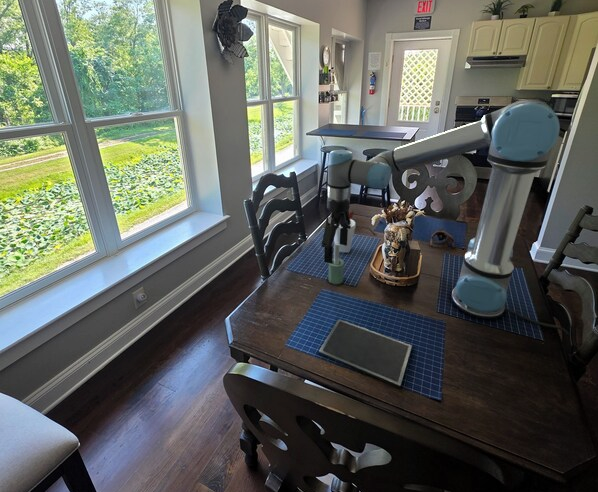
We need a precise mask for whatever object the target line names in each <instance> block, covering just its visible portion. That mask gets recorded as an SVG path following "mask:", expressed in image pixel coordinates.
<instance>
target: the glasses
mask: <svg viewBox="0 0 598 492" xmlns="http://www.w3.org/2000/svg"><path fill="white" fill-rule="evenodd" d="M354 215H355V216H360V217H366V218H371V219H373V218H372V217H373V216H369V215H364V214H359V213H354V211H349V216H350V219H352V220H353V217H354ZM378 220H379V221H378V222H379V223H380V224H383V222H382V221H381V220H380V219H378ZM356 227H357V228H360V229H361V228H362V229H366V230H369V231H370V232H371V233H372V234H373V235H374V236H375V235H376V233H375V232H374V231H373V230H371V229H370V228H369V227H365V226H361V225H355V228H356Z"/></svg>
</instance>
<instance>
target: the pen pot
mask: <svg viewBox="0 0 598 492" xmlns="http://www.w3.org/2000/svg"><path fill="white" fill-rule="evenodd" d="M344 270H345V261H344V260H343V259H342V258H339V265H334V257H333V260H332V264H330V263H328V273H327V279H328V282H329V283H331V284H333V285H340V284H342V283H343V282H344V274H345V271H344Z"/></svg>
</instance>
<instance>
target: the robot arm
mask: <svg viewBox="0 0 598 492" xmlns="http://www.w3.org/2000/svg"><path fill="white" fill-rule="evenodd" d="M560 131H561V125H560V119H559V117H558V114H556V112H555V111H554V110H553V108H552V107H551V106H550V105H549V104H548V103H547V102H545V101H543V100H541V99H537V98H523V99H520V100H516V101H515V102H512V103H510V104H508V105H506V106H504V107H502V108H500V109H497V110H495V111H492V112H490V113H487V114H484V115H483V117H482V118H481V120H477V121H475V122H471V123H468V124H466V125H462V126H460V127H457V128H453V129H450V130H447V131H445V132H441V133H438V134H436V135H433V136H430V137H426V138H424V139H419V140H417V141H415V142H411V143H408V144H405V145H402V146H399V147H395V148H394V149H391V150H384V151H381V152H380V153H378V154H377V155H375V156H374V157H371V158H370V159H369V160H360V159H356V158H354V156H353V152H352V151H351V150H347V149H335V150H332V151H330V152H329V153H328V161H327V185H326V189H327V198H326V208H327V210H328V211H330V216H327V217H326V218H325V225H324V226H325V227H324V232H323V236H322V241H321V244H320V245H321V248H324V255H323V262H324V263H327V264H329V263H330V264H332V260H333V258H334V245H333V244H334V237H335V233H336V230H337V228H339V225H341V227H343V228H340V244H341V245H345V246H347V238H348V229H350V228H351V226H349V225H350V224H351V222H350V216H349V214H350V211H349V209H350V206H351V193H352V192H351V190H352V184H353V185H357V186H363V187H368V188H371V189H378V190H379V189H381V190H383V189H386V188H387V187H388V185H389V184H390V180H391V178H392V175H393V174H397V173H401V172H404V171H407V170H411V169H414V168H418V167H420V166H424V165H428V164H431V163H435V162H439V161H444V160H446V159H449V158H454V157H457V156H460V155H461V156H462V155H464V154H468V153H472V152H476V151H478V150H483V149H486V148H489V149H488V154H487V159H486V160H487V162H488V163H489V164H490V165H491V167H492V168H491V172H490V176H489V180H488V184H487V187H486V192H485V197H484V200H483V205H482V209H481V212H480V217H479V221H478V225H477V230H476V233H475V237H473V238H471V239H470V240H469V242H468V245H467V252H465V254H464V256H463V260H462V264H461V269H460V273H459V277H458V280H457V281H456V284H455V286H454V288H453V289H452V292H451V297H450V298H451V301H452V303H453V305H454V306H455V307H456V308H457V309H458V310H459V311H461V312H462V313H464V314H466V315H468V316H469V317H472V318H476V319H480V320H487V321H488V320H496V319H499V318H501V317H502V316H503V314H504V312H505V311H506V312H508V313H510V314H511V315H514V316H516V317H518V318H521V319H523V320H525V321H528V322H529V323H532V324H534V325H539V326H542V327H546V328H552V329H556V330H559V331H562V332H563V333H564V334H565V335H567V336H568V335H569V336H570V333H569V332H568V331H567V329H565V328H564V327H562V326H559V325H554V324H548V323H544V322H541V321H537V320H534V319H531V318H528V317H526V316H524V315H522V314H520V313H518V312H516V311H514V310H511V309H510V308H507V307H506V306H505V305H506V302H507V300H508V290H509V289H508V288H509V285H510V283H511V278H512V276H513V273H514V268H515V266H514V263H513V262H512V258H513V257H514V256H513V253H514V249H513V248H514V244H515V241H516V238H517V235H518V232H519V228H520V225H521V222H522V218H523V215H524V211H525V207H526V205H527V201H528V197H529V194H530V191H531V187H532V185H533V181H534V177H535V175H536V173H537V172H539V171H540V170H542V169H544V168H546V166H547V163H548V159H549V157H550V154H551V150H552V148H553V147H554V145H555V143H556V142H557V141H558V138H559V135H560ZM334 224H335V225H334Z"/></svg>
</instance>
